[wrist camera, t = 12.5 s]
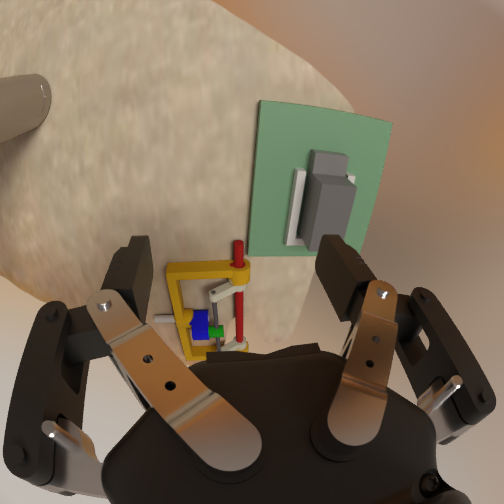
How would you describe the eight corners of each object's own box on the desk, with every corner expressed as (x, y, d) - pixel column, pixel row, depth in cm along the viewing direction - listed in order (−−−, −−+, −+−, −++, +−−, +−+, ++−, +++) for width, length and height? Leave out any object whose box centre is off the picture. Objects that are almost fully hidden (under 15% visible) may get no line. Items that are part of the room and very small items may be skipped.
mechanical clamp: (254, 258, 41) (250, 371, 57) (249, 235, 46) (247, 348, 62) (129, 263, 39) (166, 374, 55) (138, 241, 44) (168, 351, 60)
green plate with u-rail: (247, 251, 47) (249, 261, 44) (259, 100, 33) (263, 101, 31) (355, 251, 49) (362, 260, 47) (387, 121, 36) (397, 125, 34)
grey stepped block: (327, 230, 44) (340, 251, 39) (297, 230, 44) (308, 251, 39) (343, 153, 37) (362, 165, 32) (311, 149, 37) (326, 160, 32)
